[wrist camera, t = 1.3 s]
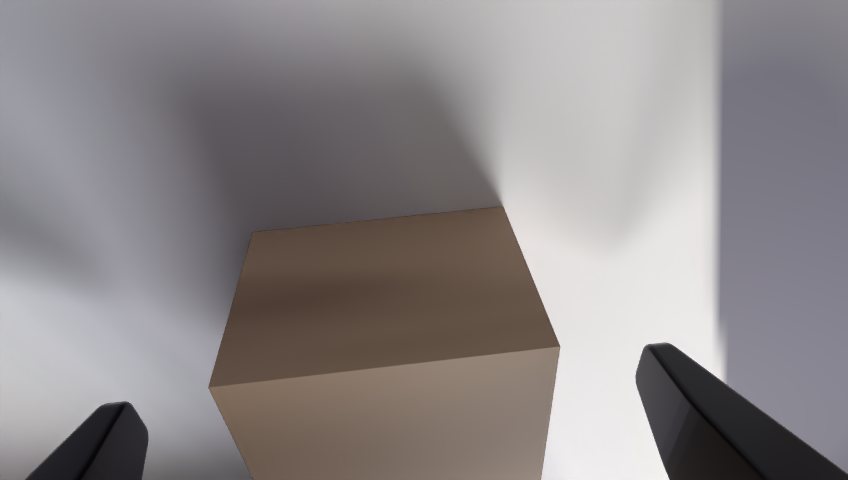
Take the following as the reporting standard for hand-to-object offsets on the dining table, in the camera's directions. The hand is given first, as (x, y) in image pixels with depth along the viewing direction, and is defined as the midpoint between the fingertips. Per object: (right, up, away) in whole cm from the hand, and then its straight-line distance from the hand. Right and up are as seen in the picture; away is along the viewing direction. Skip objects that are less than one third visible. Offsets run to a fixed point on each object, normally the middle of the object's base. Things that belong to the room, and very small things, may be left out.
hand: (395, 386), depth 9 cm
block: (0, +1, +2) cm, 2 cm away
